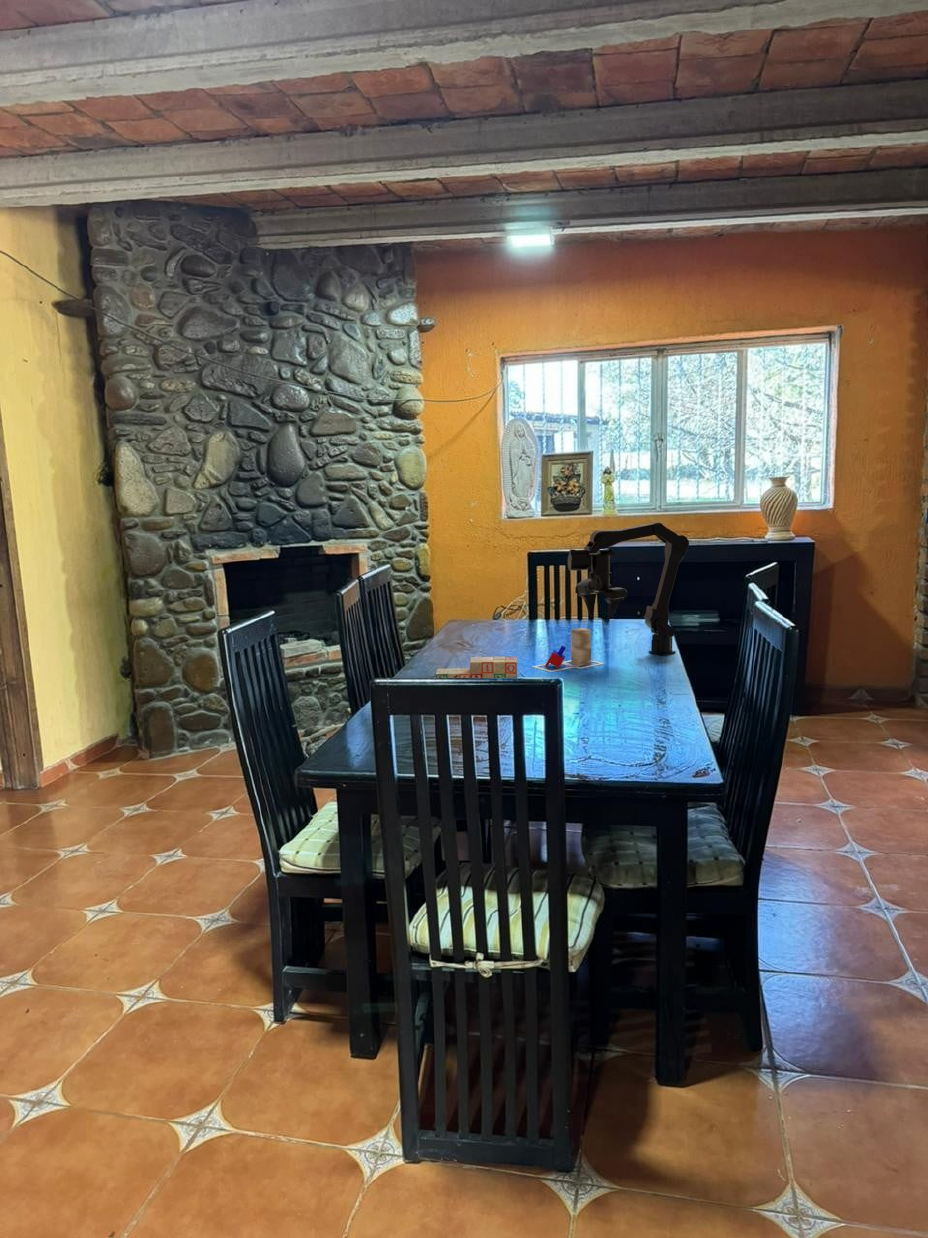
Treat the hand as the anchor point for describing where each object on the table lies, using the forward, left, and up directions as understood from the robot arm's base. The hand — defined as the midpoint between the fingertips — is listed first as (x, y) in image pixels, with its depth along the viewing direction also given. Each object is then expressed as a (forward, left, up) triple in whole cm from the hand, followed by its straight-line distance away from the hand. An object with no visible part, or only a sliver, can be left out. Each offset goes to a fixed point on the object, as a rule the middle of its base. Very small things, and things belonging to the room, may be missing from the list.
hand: (600, 617), depth 263 cm
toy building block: (+21, +2, -13) cm, 25 cm away
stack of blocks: (+63, +21, -13) cm, 68 cm away
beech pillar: (+12, +4, -13) cm, 18 cm away
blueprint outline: (+17, +3, -13) cm, 21 cm away
